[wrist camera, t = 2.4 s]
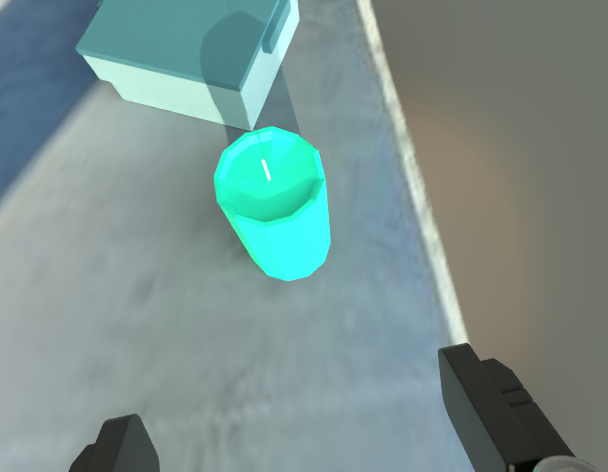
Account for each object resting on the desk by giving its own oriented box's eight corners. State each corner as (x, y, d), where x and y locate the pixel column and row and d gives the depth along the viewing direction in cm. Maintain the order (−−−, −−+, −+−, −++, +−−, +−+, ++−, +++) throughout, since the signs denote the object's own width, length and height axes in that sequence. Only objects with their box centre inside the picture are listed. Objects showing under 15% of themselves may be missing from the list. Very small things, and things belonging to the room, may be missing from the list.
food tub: (109, 101, 40) (67, 46, 34) (170, -11, 44) (142, -78, 38) (262, 140, 38) (247, 88, 32) (313, 18, 42) (307, -49, 36)
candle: (302, 296, 33) (280, 238, 22) (233, 254, 34) (180, 180, 23) (345, 227, 34) (346, 140, 23) (278, 190, 36) (248, 92, 25)
